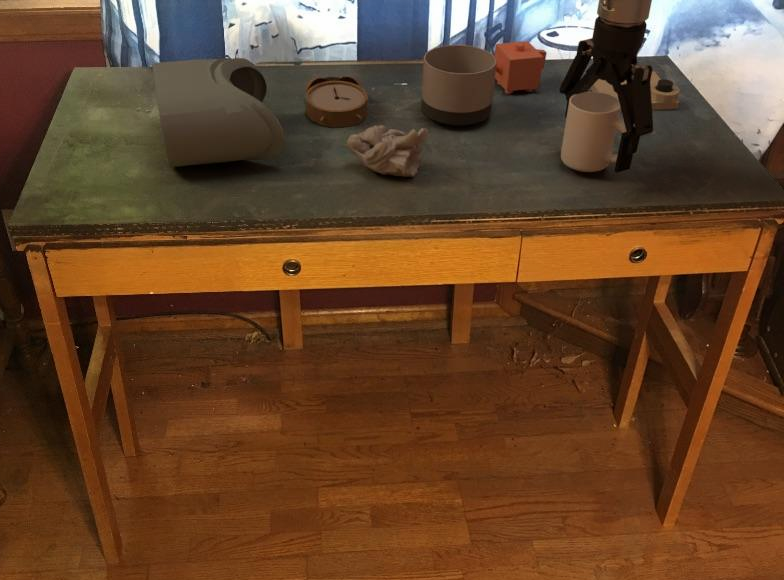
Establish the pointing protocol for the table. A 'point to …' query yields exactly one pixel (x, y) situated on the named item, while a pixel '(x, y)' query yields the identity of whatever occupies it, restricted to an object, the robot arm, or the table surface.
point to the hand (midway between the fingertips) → (595, 154)
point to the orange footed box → (519, 66)
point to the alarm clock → (336, 101)
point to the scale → (658, 98)
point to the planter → (458, 84)
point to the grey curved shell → (215, 112)
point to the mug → (591, 131)
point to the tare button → (664, 85)
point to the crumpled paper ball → (388, 150)
